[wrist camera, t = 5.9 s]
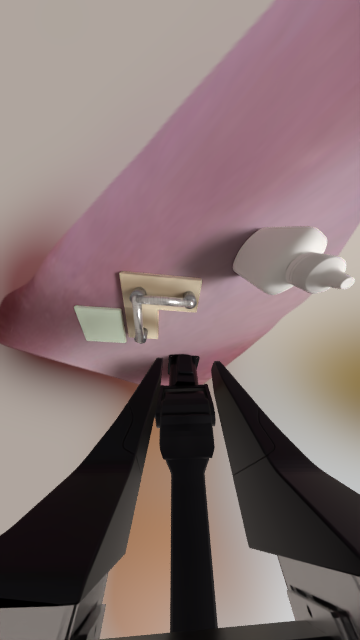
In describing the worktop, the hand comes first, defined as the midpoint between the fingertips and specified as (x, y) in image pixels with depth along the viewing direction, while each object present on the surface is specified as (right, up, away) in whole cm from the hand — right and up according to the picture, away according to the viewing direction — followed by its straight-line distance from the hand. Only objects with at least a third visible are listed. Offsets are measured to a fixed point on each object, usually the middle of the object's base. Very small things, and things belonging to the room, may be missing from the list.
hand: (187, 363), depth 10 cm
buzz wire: (-4, +4, +13) cm, 14 cm away
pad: (-14, +2, +14) cm, 20 cm away
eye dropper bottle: (+9, +12, +8) cm, 17 cm away
